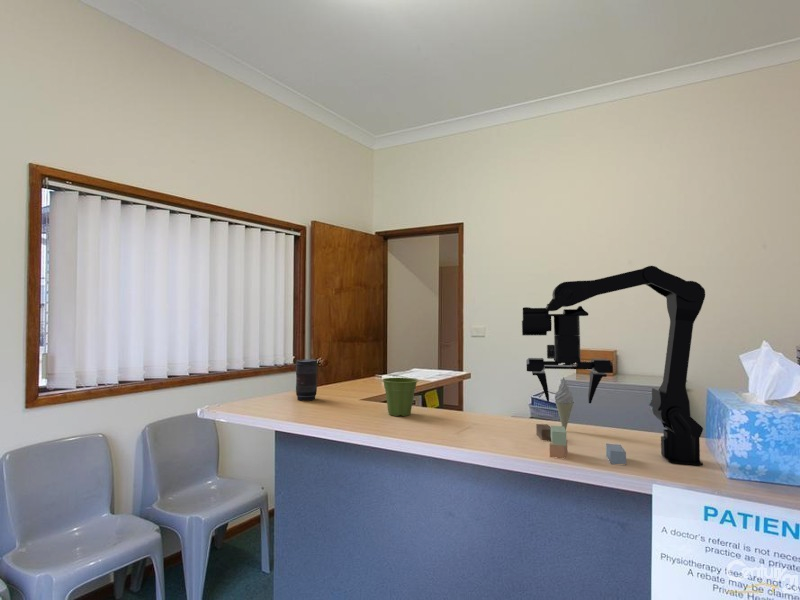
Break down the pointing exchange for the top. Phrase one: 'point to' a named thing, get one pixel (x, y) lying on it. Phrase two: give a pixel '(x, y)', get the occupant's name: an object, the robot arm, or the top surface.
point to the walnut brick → (543, 431)
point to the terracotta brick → (558, 450)
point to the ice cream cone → (564, 402)
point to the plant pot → (399, 395)
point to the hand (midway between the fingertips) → (568, 402)
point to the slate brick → (615, 454)
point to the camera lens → (306, 379)
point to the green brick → (558, 435)
